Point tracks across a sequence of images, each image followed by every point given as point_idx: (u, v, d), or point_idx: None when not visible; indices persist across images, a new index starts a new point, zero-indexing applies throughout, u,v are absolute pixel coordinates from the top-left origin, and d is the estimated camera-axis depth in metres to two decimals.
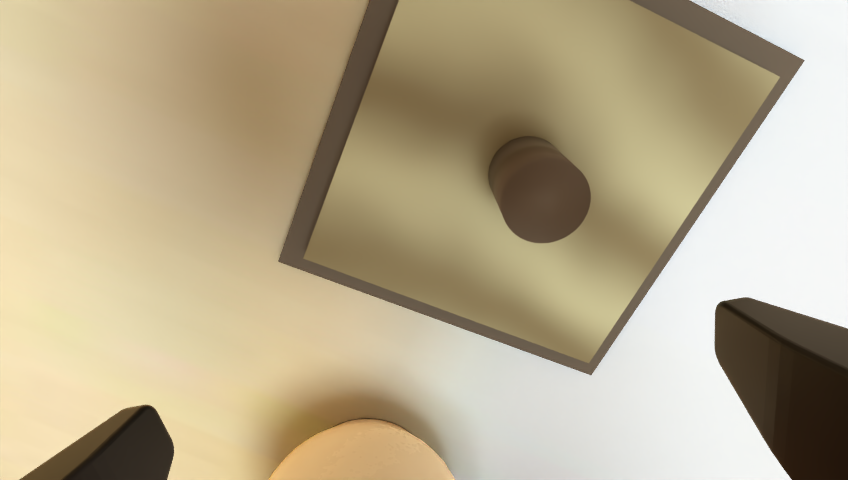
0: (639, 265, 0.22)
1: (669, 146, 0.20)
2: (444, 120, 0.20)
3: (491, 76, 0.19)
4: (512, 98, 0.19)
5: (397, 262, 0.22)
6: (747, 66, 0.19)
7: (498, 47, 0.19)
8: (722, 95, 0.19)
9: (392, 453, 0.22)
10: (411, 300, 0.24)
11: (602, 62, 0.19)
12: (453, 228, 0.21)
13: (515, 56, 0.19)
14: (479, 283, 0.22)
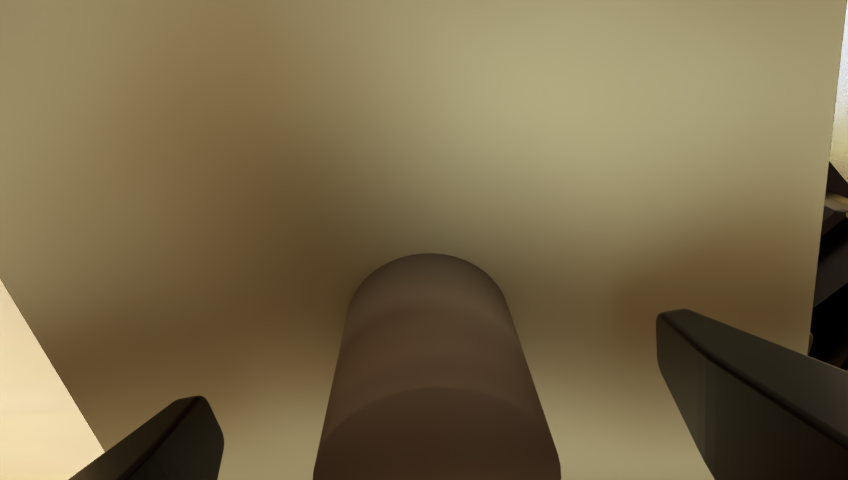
0: (778, 339, 0.10)
1: (684, 100, 0.08)
2: (215, 336, 0.09)
3: (222, 218, 0.09)
4: (293, 228, 0.09)
5: None
6: None
7: (188, 163, 0.08)
8: None
9: None
10: None
11: (403, 44, 0.07)
12: None
13: (232, 156, 0.08)
14: None
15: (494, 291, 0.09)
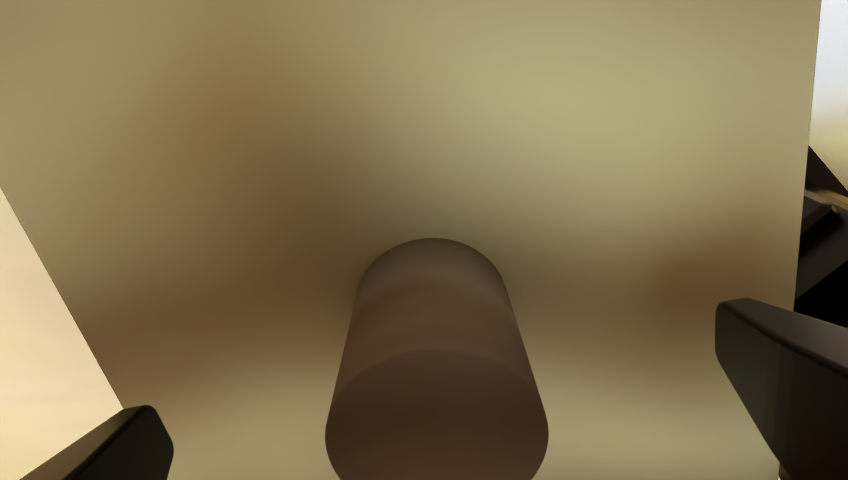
0: None
1: (669, 95, 0.09)
2: (235, 314, 0.10)
3: (242, 204, 0.09)
4: (307, 213, 0.09)
5: None
6: None
7: (212, 153, 0.09)
8: None
9: None
10: None
11: (409, 43, 0.08)
12: None
13: (252, 146, 0.09)
14: None
15: (493, 273, 0.09)
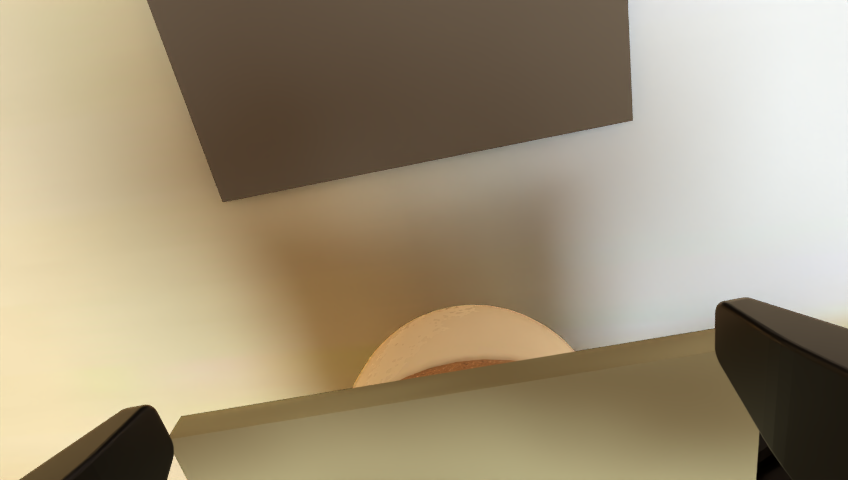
0: None
1: None
2: None
3: None
4: None
5: None
6: (702, 360, 0.11)
7: None
8: (691, 404, 0.12)
9: (438, 325, 0.18)
10: (373, 160, 0.20)
11: (492, 458, 0.13)
12: None
13: None
14: None
15: None
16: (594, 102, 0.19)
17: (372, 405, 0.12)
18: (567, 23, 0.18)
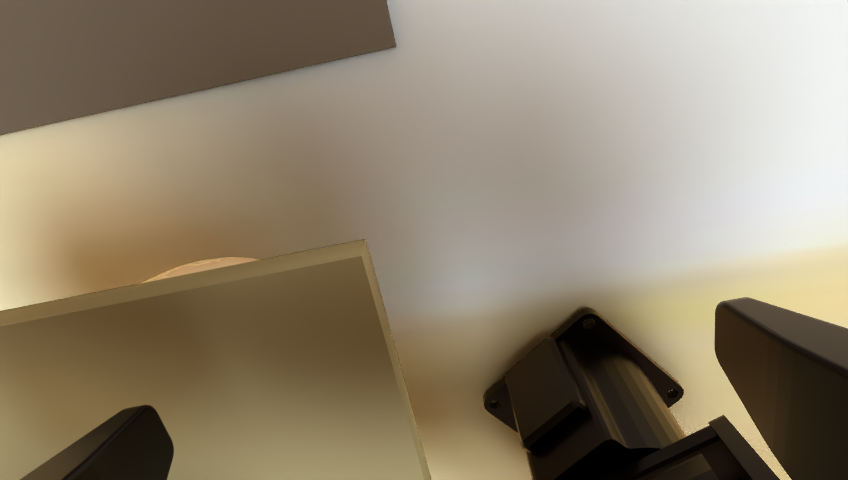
0: None
1: (300, 435, 0.11)
2: None
3: None
4: None
5: None
6: (292, 278, 0.10)
7: None
8: (300, 335, 0.10)
9: (163, 275, 0.16)
10: (112, 95, 0.18)
11: (87, 407, 0.11)
12: None
13: None
14: None
15: None
16: (348, 25, 0.17)
17: None
18: None
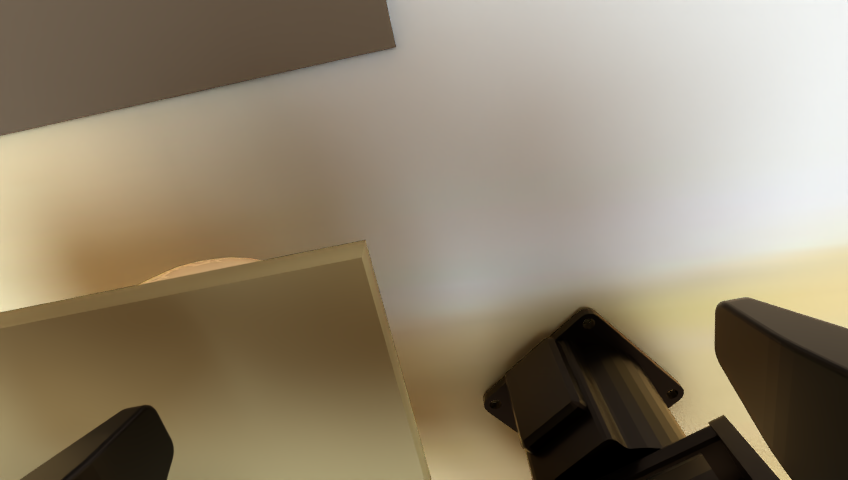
0: None
1: (300, 436, 0.11)
2: None
3: None
4: None
5: None
6: (292, 280, 0.09)
7: None
8: (300, 336, 0.10)
9: (163, 275, 0.16)
10: (112, 95, 0.18)
11: (86, 409, 0.11)
12: None
13: None
14: None
15: None
16: (348, 26, 0.17)
17: None
18: None
